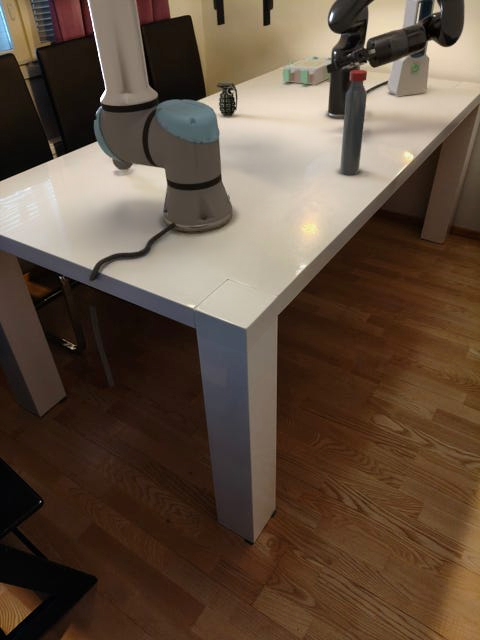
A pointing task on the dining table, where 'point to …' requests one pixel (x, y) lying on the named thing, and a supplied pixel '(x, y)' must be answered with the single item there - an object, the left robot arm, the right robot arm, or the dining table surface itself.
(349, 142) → the bottle
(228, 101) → the grenade
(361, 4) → the right robot arm
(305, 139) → the dining table surface
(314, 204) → the dining table surface
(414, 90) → the electronic device
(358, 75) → the cap
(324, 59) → the decorative block
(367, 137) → the dining table surface
